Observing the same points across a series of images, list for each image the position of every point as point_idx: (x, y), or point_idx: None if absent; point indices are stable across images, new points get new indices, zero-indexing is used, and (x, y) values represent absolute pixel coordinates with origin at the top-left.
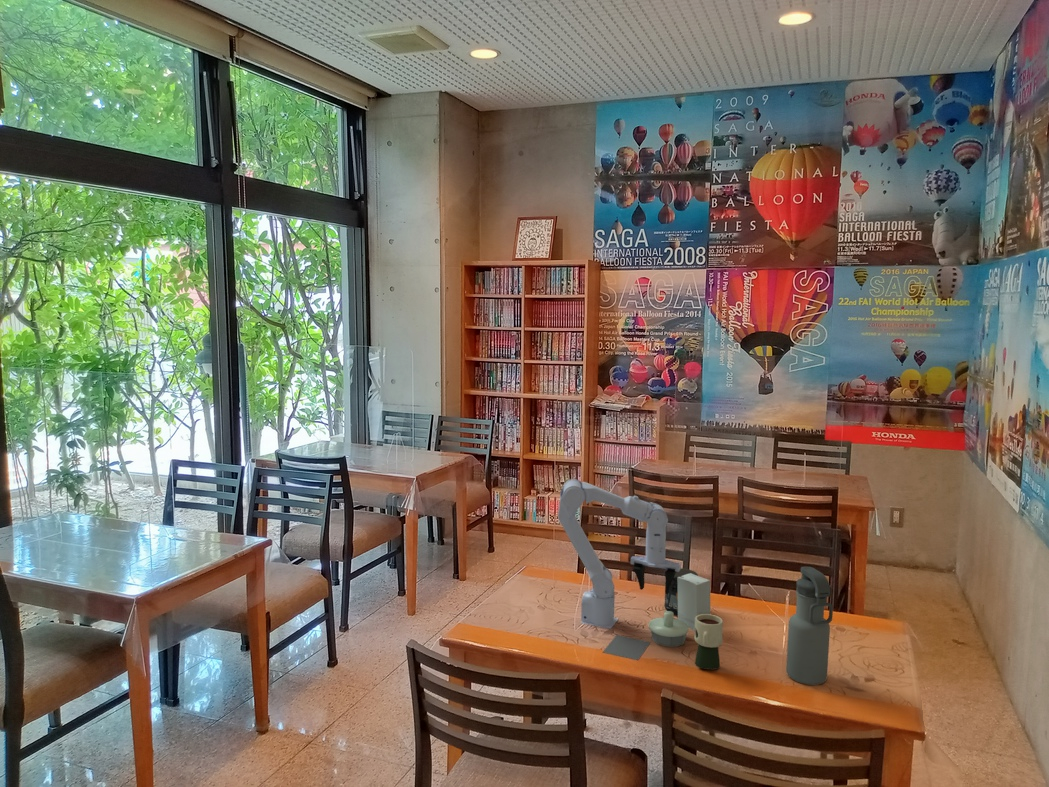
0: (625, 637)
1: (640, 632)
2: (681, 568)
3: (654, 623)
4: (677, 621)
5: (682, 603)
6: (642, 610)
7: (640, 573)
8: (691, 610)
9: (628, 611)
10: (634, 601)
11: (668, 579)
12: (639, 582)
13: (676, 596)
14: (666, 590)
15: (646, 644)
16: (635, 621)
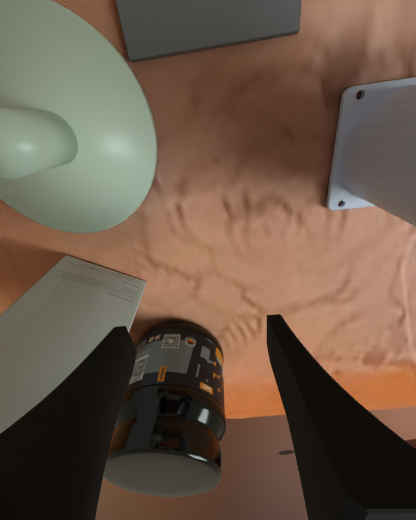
0: (249, 27)
1: (217, 155)
2: (186, 495)
3: (119, 119)
4: (56, 210)
5: (95, 327)
6: (270, 307)
7: (321, 433)
8: (52, 304)
9: (308, 284)
10: (307, 341)
11: (27, 427)
12: (298, 348)
13: (165, 370)
14: (105, 341)
15: (128, 8)
16: (266, 232)
